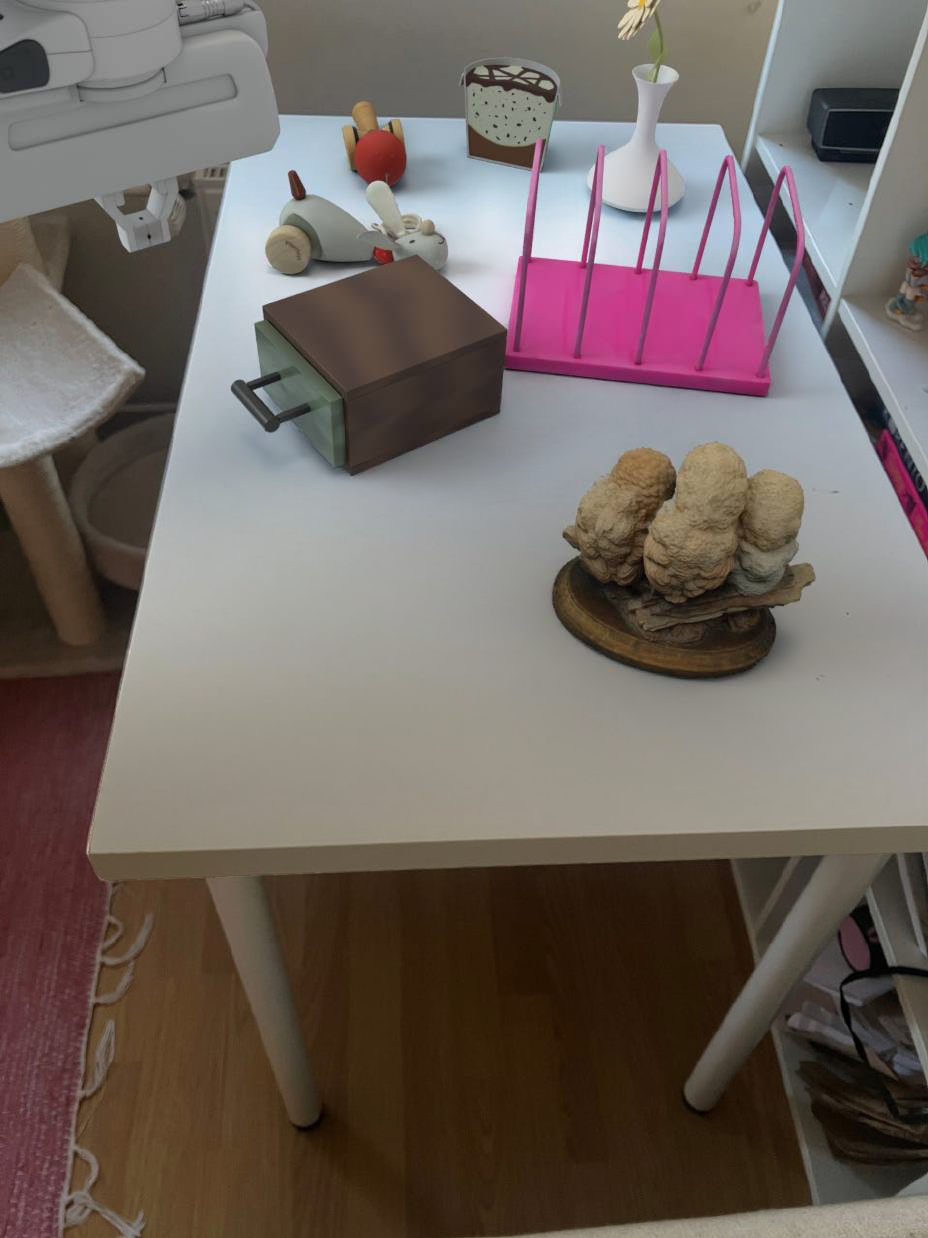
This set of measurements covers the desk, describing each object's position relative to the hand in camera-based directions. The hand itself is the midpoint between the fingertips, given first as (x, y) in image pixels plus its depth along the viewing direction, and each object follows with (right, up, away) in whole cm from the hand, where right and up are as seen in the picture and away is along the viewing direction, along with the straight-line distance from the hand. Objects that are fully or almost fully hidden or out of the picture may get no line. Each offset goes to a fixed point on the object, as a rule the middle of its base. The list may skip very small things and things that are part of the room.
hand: (146, 243), depth 68 cm
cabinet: (+14, -6, +24) cm, 28 cm away
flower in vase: (+41, +23, +50) cm, 68 cm away
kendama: (+10, +30, +53) cm, 62 cm away
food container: (+27, +32, +56) cm, 70 cm away
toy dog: (+10, +13, +39) cm, 42 cm away
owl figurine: (+37, -25, +9) cm, 46 cm away
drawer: (+11, -7, +21) cm, 25 cm away
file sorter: (+39, +3, +33) cm, 51 cm away
